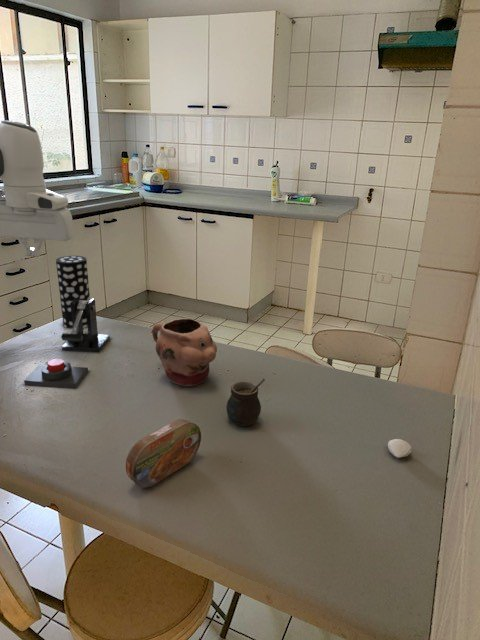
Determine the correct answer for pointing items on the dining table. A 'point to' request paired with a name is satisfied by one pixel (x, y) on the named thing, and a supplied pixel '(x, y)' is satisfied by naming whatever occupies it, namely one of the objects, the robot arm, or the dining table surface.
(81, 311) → the toast lever
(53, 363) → the button
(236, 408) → the mate gourd
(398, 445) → the white pebble
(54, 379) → the button housing
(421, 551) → the dining table surface
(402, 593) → the dining table surface
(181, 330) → the character head mug
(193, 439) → the tin
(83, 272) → the spotted tube
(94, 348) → the lever bracket
